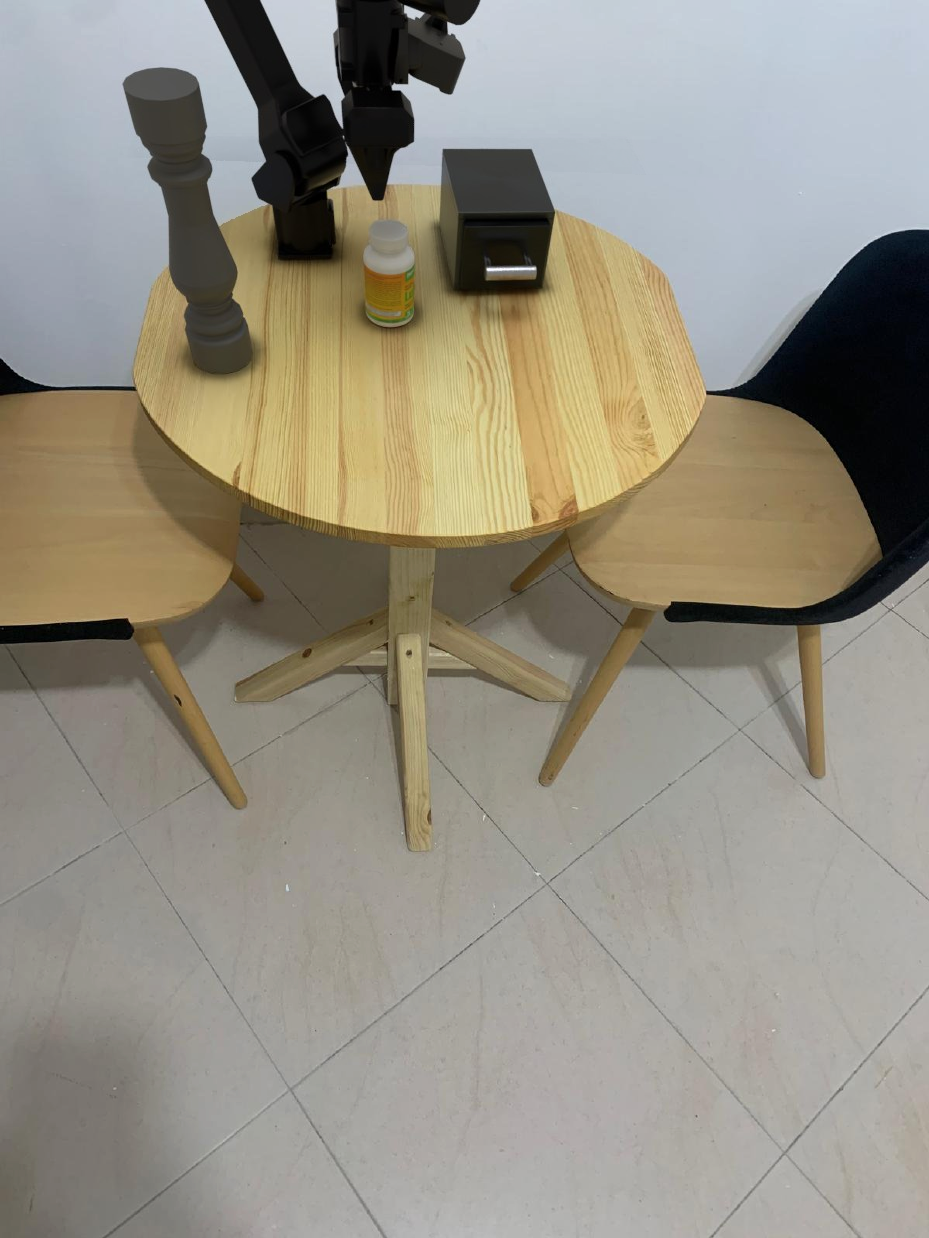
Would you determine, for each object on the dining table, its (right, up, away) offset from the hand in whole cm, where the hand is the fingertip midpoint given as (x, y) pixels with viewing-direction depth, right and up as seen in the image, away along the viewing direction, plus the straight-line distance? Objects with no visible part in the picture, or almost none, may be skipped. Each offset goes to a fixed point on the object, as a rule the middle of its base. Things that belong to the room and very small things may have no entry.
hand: (374, 176), depth 79 cm
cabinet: (+12, -1, +15) cm, 19 cm away
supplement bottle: (+1, -11, +7) cm, 14 cm away
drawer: (+13, -4, +12) cm, 18 cm away
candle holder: (-16, -18, +1) cm, 24 cm away
